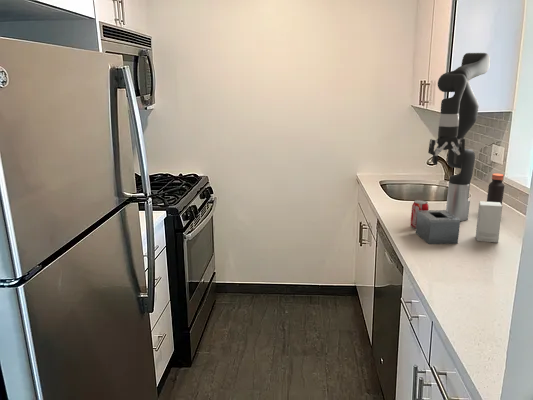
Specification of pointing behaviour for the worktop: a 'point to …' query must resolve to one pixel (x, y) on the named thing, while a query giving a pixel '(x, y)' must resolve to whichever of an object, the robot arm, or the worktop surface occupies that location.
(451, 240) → the box
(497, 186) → the bottle
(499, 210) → the skincare box
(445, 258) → the worktop surface
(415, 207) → the soda can
